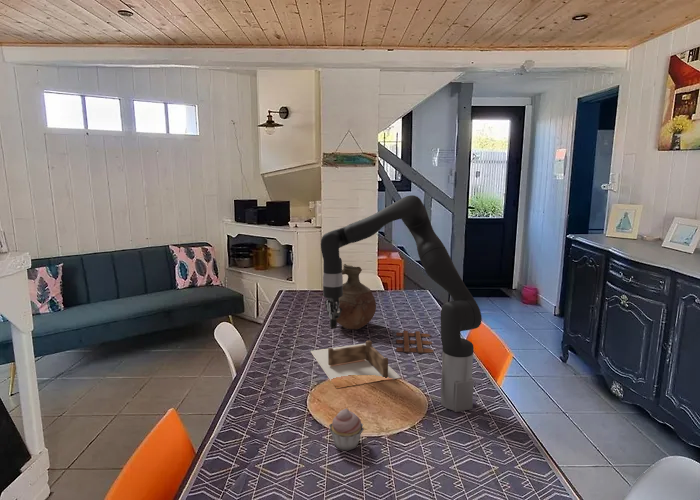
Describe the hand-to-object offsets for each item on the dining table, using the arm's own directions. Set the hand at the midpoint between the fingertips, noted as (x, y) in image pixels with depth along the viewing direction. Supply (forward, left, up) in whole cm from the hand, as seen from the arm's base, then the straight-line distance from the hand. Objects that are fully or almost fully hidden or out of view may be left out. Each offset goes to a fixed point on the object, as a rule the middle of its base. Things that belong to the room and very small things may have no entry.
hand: (333, 327), depth 172 cm
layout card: (-7, -5, -13) cm, 15 cm away
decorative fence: (+4, -37, -13) cm, 40 cm away
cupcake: (-54, +14, -13) cm, 57 cm away
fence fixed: (-14, -12, -13) cm, 22 cm away
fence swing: (-6, -3, -12) cm, 14 cm away
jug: (+31, -19, -13) cm, 39 cm away
